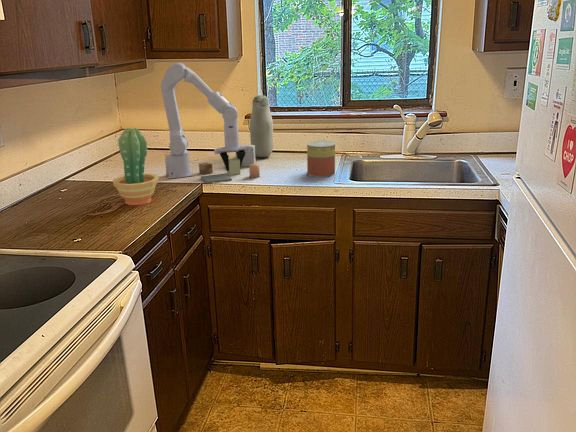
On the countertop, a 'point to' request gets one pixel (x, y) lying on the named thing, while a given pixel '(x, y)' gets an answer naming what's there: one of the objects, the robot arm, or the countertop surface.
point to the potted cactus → (134, 169)
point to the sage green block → (234, 166)
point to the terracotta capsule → (254, 170)
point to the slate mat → (215, 178)
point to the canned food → (321, 158)
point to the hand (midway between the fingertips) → (233, 169)
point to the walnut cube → (205, 168)
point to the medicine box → (248, 156)
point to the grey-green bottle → (261, 127)
